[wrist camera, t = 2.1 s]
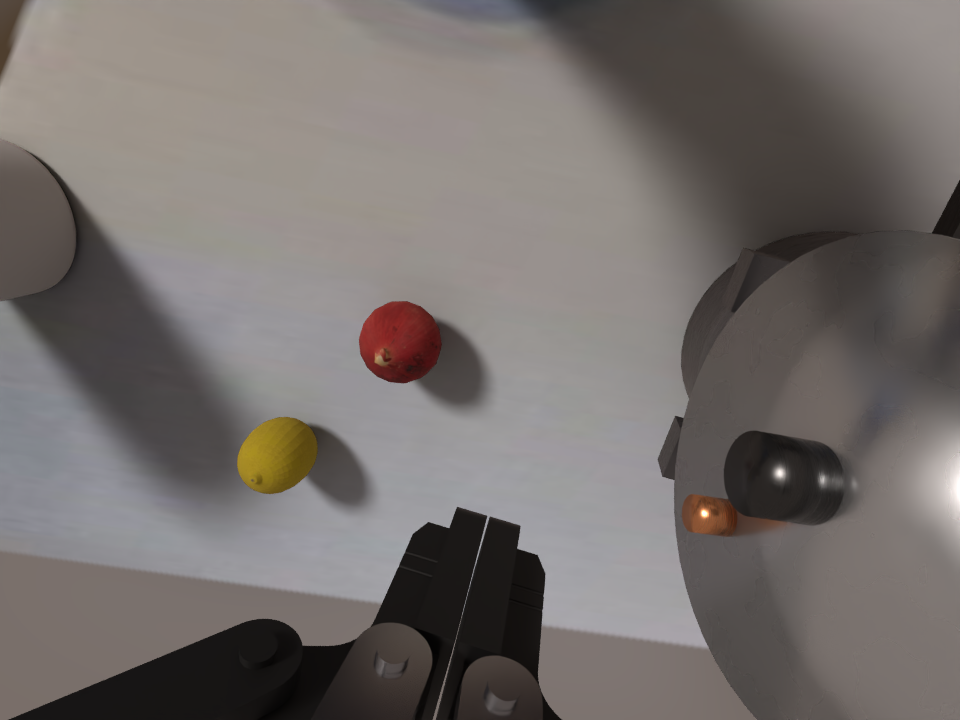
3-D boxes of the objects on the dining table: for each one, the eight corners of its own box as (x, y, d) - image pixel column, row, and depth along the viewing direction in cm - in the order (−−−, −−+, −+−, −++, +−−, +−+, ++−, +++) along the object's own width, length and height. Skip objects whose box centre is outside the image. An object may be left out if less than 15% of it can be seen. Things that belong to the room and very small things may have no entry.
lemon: (265, 441, 49) (209, 491, 42) (283, 391, 47) (228, 434, 40) (320, 470, 49) (274, 524, 42) (341, 421, 47) (297, 468, 40)
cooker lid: (798, 206, 25) (721, 187, 24) (1517, 358, 9) (1339, 310, 8) (662, 523, 32) (599, 514, 31) (923, 957, 15) (798, 958, 14)
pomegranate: (466, 328, 43) (442, 362, 35) (419, 377, 45) (388, 419, 37) (409, 276, 42) (373, 300, 35) (365, 328, 44) (322, 361, 37)
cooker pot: (738, 135, 35) (813, 121, 24) (1035, 206, 34) (1261, 225, 23) (616, 463, 44) (629, 564, 33) (847, 530, 43) (942, 658, 32)
